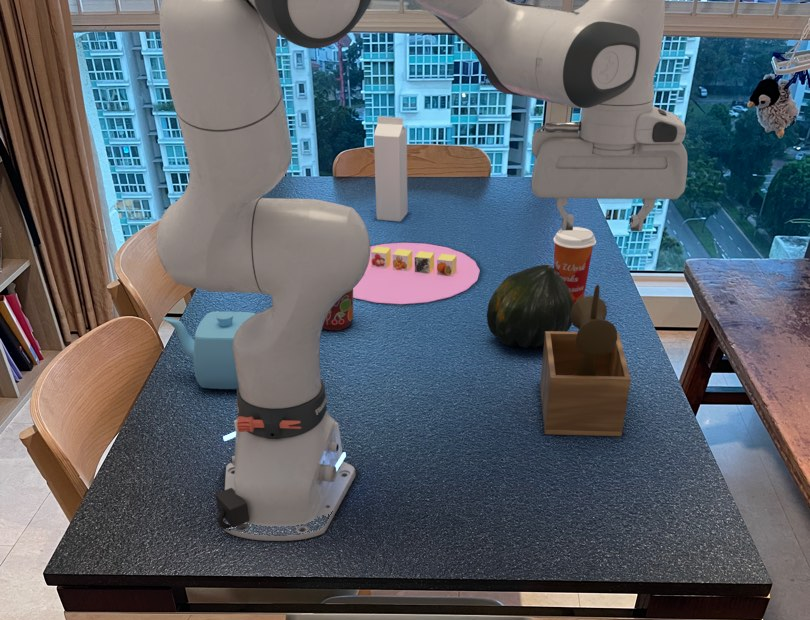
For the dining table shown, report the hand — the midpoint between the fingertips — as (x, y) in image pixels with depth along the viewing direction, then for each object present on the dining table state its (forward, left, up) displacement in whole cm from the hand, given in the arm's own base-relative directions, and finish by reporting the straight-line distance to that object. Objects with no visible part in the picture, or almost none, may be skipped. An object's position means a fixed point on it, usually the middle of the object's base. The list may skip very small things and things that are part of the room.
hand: (601, 229), depth 122 cm
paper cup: (+39, -1, -29) cm, 48 cm away
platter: (+54, +32, -29) cm, 69 cm away
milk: (+87, +37, -29) cm, 99 cm away
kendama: (0, -1, -28) cm, 28 cm away
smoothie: (+29, +43, -29) cm, 59 cm away
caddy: (0, 0, -29) cm, 29 cm away
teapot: (+8, +59, -29) cm, 66 cm away
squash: (+24, +7, -29) cm, 38 cm away
